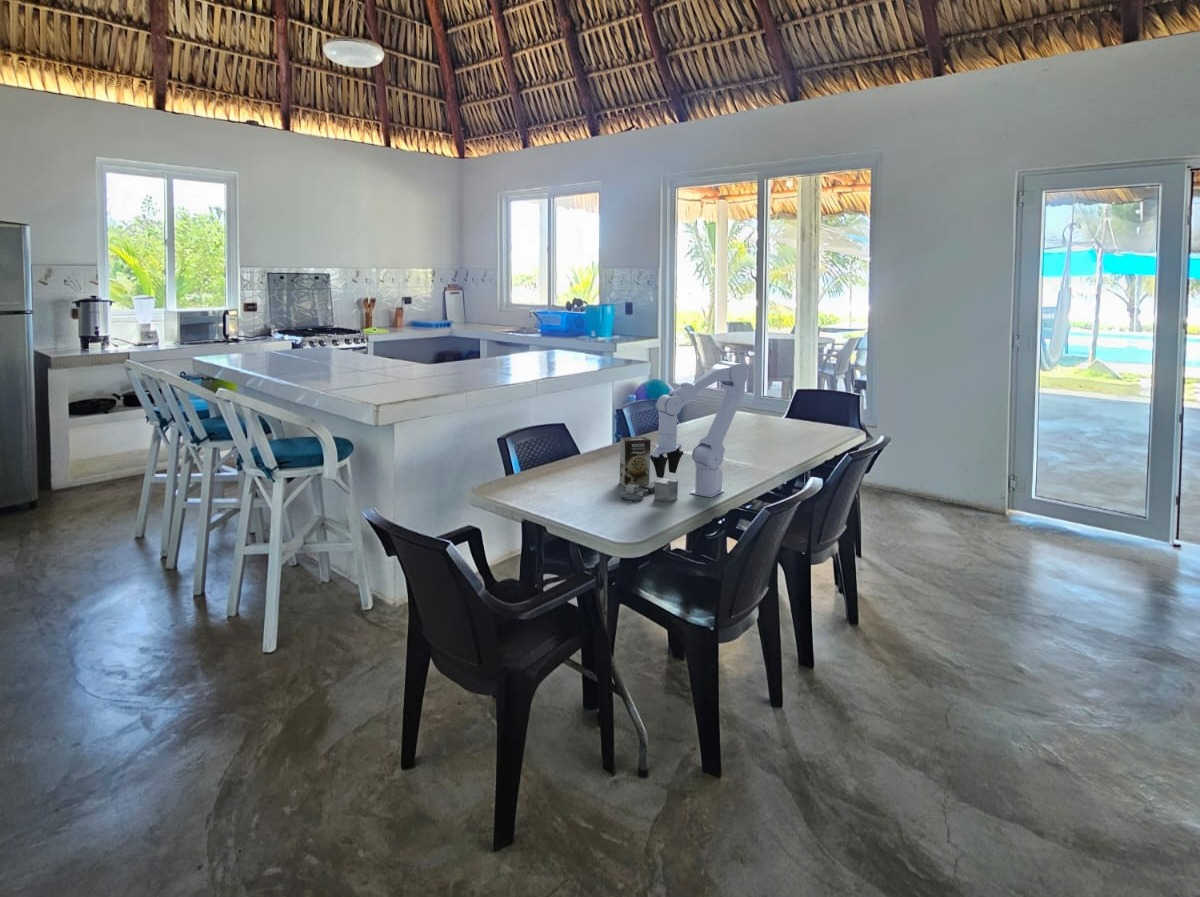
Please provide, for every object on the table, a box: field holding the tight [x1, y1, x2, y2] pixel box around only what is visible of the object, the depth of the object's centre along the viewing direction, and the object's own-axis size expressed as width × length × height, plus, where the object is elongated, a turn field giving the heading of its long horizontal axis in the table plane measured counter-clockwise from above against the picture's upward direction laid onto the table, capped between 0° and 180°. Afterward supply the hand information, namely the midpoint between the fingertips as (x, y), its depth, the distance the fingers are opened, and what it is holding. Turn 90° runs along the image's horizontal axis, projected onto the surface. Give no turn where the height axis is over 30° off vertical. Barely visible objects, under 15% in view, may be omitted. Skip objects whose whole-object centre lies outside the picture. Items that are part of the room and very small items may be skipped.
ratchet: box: [620, 481, 655, 503], centre depth 256 cm, size 20×7×4 cm, turn 144°
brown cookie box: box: [619, 436, 652, 488], centre depth 266 cm, size 9×6×16 cm
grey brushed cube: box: [653, 477, 679, 503], centre depth 250 cm, size 5×5×6 cm
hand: (666, 475), depth 249 cm, fingers open, 7 cm apart
